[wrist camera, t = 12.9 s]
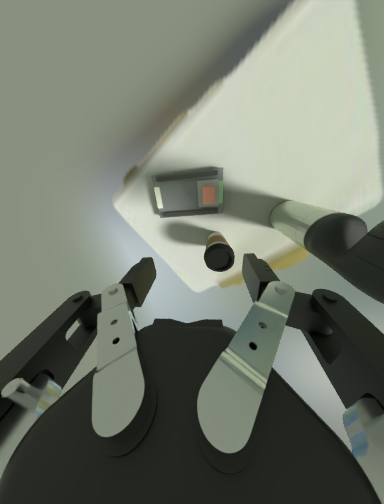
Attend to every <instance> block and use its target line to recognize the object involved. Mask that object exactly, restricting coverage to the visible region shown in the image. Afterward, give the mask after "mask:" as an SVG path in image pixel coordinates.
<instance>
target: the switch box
mask: <svg viewBox="0 0 384 504" xmlns="http://www.w3.org/2000/svg"><path fill="white" fill-rule="evenodd" d="M212 179H219V206H208V207H199V203H198V189H197V181H203V180H212ZM152 180H153V184H154V191H155V195H156V200H157V205H158V209H159V214H160V218H166V217H179V216H193V215H206V214H219V213H223V168H217V169H208V170H199V171H191V172H182V173H174V174H165V175H156V176H152Z"/></svg>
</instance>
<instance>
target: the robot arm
mask: <svg viewBox="0 0 384 504" xmlns="http://www.w3.org/2000/svg"><path fill="white" fill-rule="evenodd" d="M270 223H271V225H272V226H273V227H274V228H275V229H277V230H278V231H280V232H281V233H282V234H284V235H285V236H287V237H288V238H290V239H291V240H293V241H294V242H295V243H297V244H298V245H300V246H301V247H303V248H304V249H306V250H307V251H309V252H310V253H312V254H313V255H315V256H316V257H317V258H319V259H320V260H322V261H323V262H324V263H326V264H327V265H328V266H329V267H331V268H332V269H333V270H334V271H336V272H337V273H338V274H339V275H341V276H342V277H343V278H344V279H346V280H347V281H348V282H350V283H351V284H352V285H354V286H355V287H356V288H358V289H359V290H361V291H362V292H364V293H365V294H367V295H368V296H370V297H372V298H373V299H375V300H377V301H379V302H381V303H383V304H384V221H382V222H381V223H379V224H378V225H377V226H375V227H374V228H373V229H372V230H370V231H369V232H368V233H367V226H366V224H365V222H364V221H363V220H362V219H360V218H359V217H357V216H354V215H350V214H346V213H341V212H337V211H333V210H328V209H324V208H320V207H316V206H312V205H307V204H303V203H299V202H295V201H285V202H282V203H280V204H279V205H277V206H276V207H275V208H274V210H273V211H272V213H271V216H270ZM242 274H243V278H244V280H245V283H246V285H247V288H248V290H249V293H250V295H251V298H252V301H253V303H254V305H253V306H252V307H251V309H250V311H249V312H248V314H247V316H246V318H245V319H244V321H243V322H242V324H241V326H240V328H239V329H238V331H237V332H236V331H235V330H233V329H231V328H229V327H226V326H223V324H222V320H208V319H206V320H200V321H196V322H191V323H183V322H180V321H176V320H173V319H155V320H154V323H153V324H152V325H149V326H147V327H144V328H143V329H141V330H140V329H139V326H138V323H137V319H136V316H135V312H134V310H133V309H134V308H135V307H141V306H142V304H143V302H144V300H145V298H146V296H147V294H148V292H149V290H150V288H151V286H152V284H153V282H154V280H155V278H156V269H155V266H154V262H153V259H152V258H151V257H147V258H142V259H141V261H140V262H139V263H137V264H135V265H134V266H133V267H132V268H131V269H130V271H128V273H127V274H126V275H125V276H124V277H123V279H122V280H121V281H120V282H119V283H118V284H113V285H111V286H109V287H107V288H106V289H105V290H104V291H103V292H102V294H98V295H94V296H91V294H90V292H89V291H82V292H78V293H76V294H74V295H72V296H71V297H69V298H68V299H67V300H66V301H65V302H64V303H63V304H62V305H61V306H60V307H58V308H57V309H56V311H54V312H53V313H52V314H51V315H50V316H49V317H48V318H47V319H46V320H44V321H43V322H42V323H41V324H40V325H39V326H38V327H37V328H36V329H35V330H33V331H32V332H31V333H30V334H29V335H28V336H27V337H26V338H25V339H24V340H23V341H21V342H20V343H19V344H18V345H17V346H16V347H15V348H14V349H13V350H12V351H11V352H10V353H8V354H7V355H6V356H5V357H4V358H3V359H2V360H1V361H0V504H384V334H383V333H382V332H381V331H379V329H377V328H376V327H375V326H374V325H373V324H372V323H371V322H370V321H369V320H368V319H367V318H365V317H364V316H363V315H362V314H361V313H360V312H359V311H358V310H357V309H356V308H355V307H353V306H352V305H351V304H350V303H349V302H348V301H347V300H346V299H345V298H344V297H342V296H341V295H339V294H337V293H335V292H332V291H330V290H326V289H316V290H314V291H313V293H312V295H310V294H305V293H300V292H296V291H295V290H294V288H292V286H290V285H289V284H287V283H284V282H281V281H280V280H279V279H278V277H277V276H276V275H275V273H274V272H273V271H272V269H271V268H270V267H269V265H268V264H267V263H266V262H265V261H263V260H262V259H257V257H256V256H255V254H254V253H250V254H244V256H243V266H242ZM76 320H77V321H78V323H79V324H80V326H79V327H78V328H77V329H76V331H75V332H74V333H73V334H72V335H71V337H70V338H69V339H68V340H66V338H65V336H66V332H67V331H68V329H69V328H70V327H71V326H72V325H73V324H74V322H75V321H76ZM285 325H286V326H290V327H293V328H297V329H300V330H301V331H302V333H303V334H304V336H305V338H306V340H307V341H308V343H309V345H310V347H311V348H312V350H313V352H314V354H315V355H316V357H317V359H318V361H319V362H320V364H321V366H322V368H323V369H324V371H325V373H326V375H327V376H328V378H329V380H330V381H331V383H332V385H333V387H334V388H335V390H336V392H337V394H338V396H339V397H340V399H341V401H342V403H343V404H344V406H345V408H346V410H345V412H344V413H343V424H344V427H345V430H346V432H347V435H348V437H349V440H350V443H351V448H352V453H351V451H350V450H349V449H348V447H347V446H346V445H345V444H344V443H343V441H342V440H341V439H340V438H339V437H338V436H337V435H336V434H335V432H334V431H333V430H332V429H331V428H330V427H329V426H328V425H327V424H326V423H325V422H324V421H323V420H322V419H321V418H320V417H319V416H318V415H317V414H316V413H315V411H314V410H313V409H312V408H311V407H310V406H309V405H308V404H307V403H306V402H305V401H304V400H303V399H302V398H301V397H300V396H299V395H298V394H297V393H296V392H295V391H294V390H293V388H291V386H290V385H289V384H288V383H286V381H285V380H284V379H283V378H282V377H281V376H280V375H279V374H278V373H277V372H276V371H275V370H274V369H273V368H272V364H273V362H274V358H275V355H276V352H277V349H278V346H279V343H280V340H281V337H282V333H283V330H284V327H285ZM96 335H97V367H95V368H94V369H93V370H92V371H90V372H89V373H88V374H87V375H86V376H85V377H83V378H82V379H81V380H80V381H79V382H78V383H76V384H75V385H74V386H73V387H72V388H71V389H70V390H68V391H67V392H66V393H65V394H63V395H62V396H61V397H60V395H61V390H62V389H63V387H64V386H65V384H66V383H67V381H68V380H69V378H70V376H71V375H72V373H73V372H74V370H75V369H76V367H77V365H78V364H79V362H80V361H81V359H82V358H83V356H84V355H85V353H86V351H87V350H88V348H89V347H90V345H91V344H92V342H93V341H94V339H95V337H96Z"/></svg>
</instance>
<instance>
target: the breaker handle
mask: <svg viewBox="0 0 384 504" xmlns="http://www.w3.org/2000/svg"><path fill="white" fill-rule="evenodd" d="M197 189H198V203H199V207H208V206H219V179H212V180H203V181H197Z"/></svg>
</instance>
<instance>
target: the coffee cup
mask: <svg viewBox="0 0 384 504" xmlns="http://www.w3.org/2000/svg"><path fill="white" fill-rule="evenodd" d="M234 257H235V256H234V252H233V250H232V248H231V247H230V246H229V244H228V243H227V241H226V240H225V238H224V236H223V235H222V234H221V233H219V232H214V233H212V234H210V235H209V237H208V241H207V246H206V251H205V254H204V260H205V263H206V265H207V267H208V268H209V269H211V270H213V271H217V272H223V271H226V270H228V269H230V268H231V267H232V266H233V264H234Z"/></svg>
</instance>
